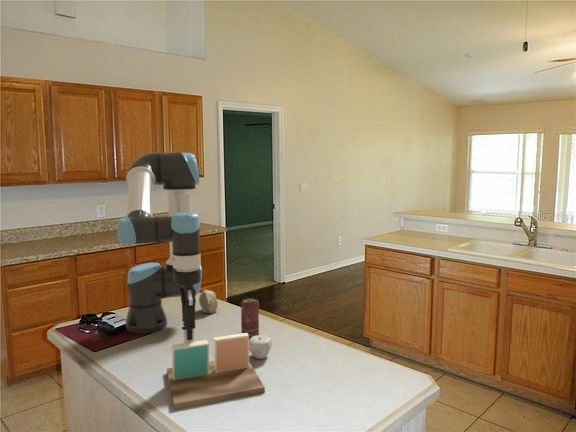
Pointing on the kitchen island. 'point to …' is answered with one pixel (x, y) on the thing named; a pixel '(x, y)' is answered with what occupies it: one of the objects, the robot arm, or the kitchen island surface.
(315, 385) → the kitchen island surface
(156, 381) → the kitchen island surface
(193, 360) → the square block
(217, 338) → the tile cream
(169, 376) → the board
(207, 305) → the grey rock
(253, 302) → the can
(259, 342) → the apple
